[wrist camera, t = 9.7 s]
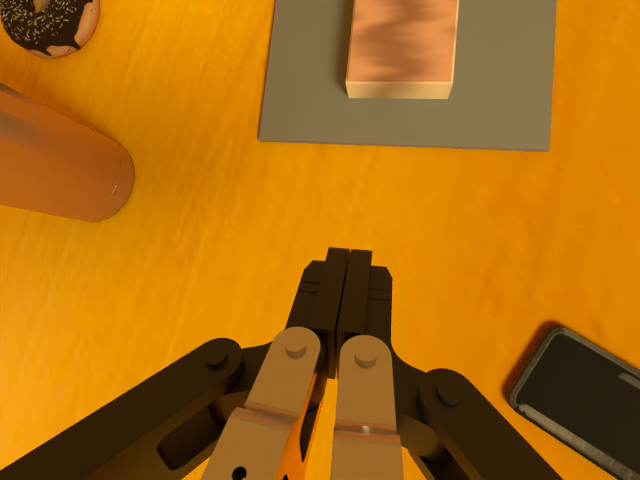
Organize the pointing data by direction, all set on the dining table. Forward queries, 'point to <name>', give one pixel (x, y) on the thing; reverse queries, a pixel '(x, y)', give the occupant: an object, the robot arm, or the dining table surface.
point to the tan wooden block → (402, 49)
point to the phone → (582, 400)
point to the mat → (414, 114)
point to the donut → (50, 24)
